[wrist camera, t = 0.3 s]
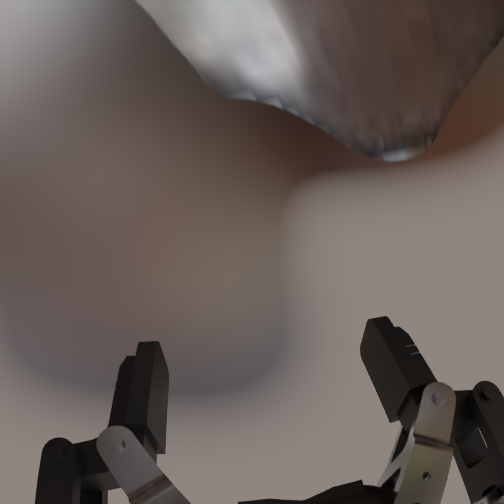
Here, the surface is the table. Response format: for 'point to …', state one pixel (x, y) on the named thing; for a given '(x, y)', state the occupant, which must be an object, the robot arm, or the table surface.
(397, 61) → the table surface
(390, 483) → the robot arm
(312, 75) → the table surface
